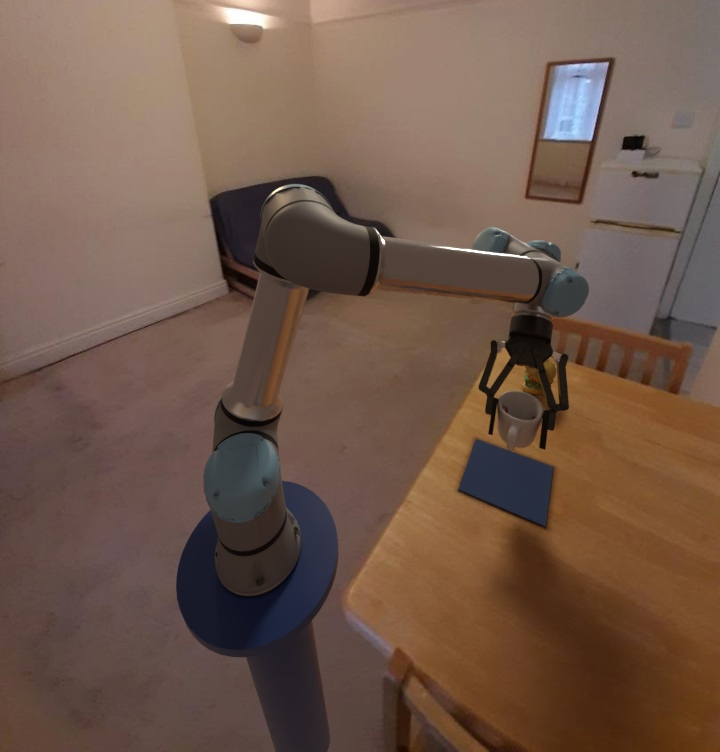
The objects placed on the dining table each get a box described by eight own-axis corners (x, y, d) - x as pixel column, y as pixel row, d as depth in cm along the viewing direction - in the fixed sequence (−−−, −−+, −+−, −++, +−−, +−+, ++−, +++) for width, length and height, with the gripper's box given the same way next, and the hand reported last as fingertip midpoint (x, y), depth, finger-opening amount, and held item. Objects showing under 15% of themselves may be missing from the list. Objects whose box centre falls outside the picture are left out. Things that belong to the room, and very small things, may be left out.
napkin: (458, 490, 80) (458, 489, 80) (475, 439, 91) (475, 438, 91) (545, 527, 73) (545, 526, 73) (553, 467, 84) (553, 466, 84)
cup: (531, 472, 70) (537, 439, 67) (484, 454, 74) (489, 422, 70) (540, 429, 78) (547, 398, 75) (498, 415, 82) (502, 384, 79)
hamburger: (535, 379, 108) (542, 342, 103) (557, 396, 102) (566, 357, 97) (513, 388, 105) (520, 350, 100) (535, 406, 99) (543, 367, 94)
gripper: (476, 304, 78) (454, 425, 72) (597, 324, 71) (585, 461, 64) (477, 314, 85) (458, 425, 79) (588, 333, 78) (577, 458, 71)
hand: (515, 441), depth 72 cm, fingers closed on cup, 8 cm apart
